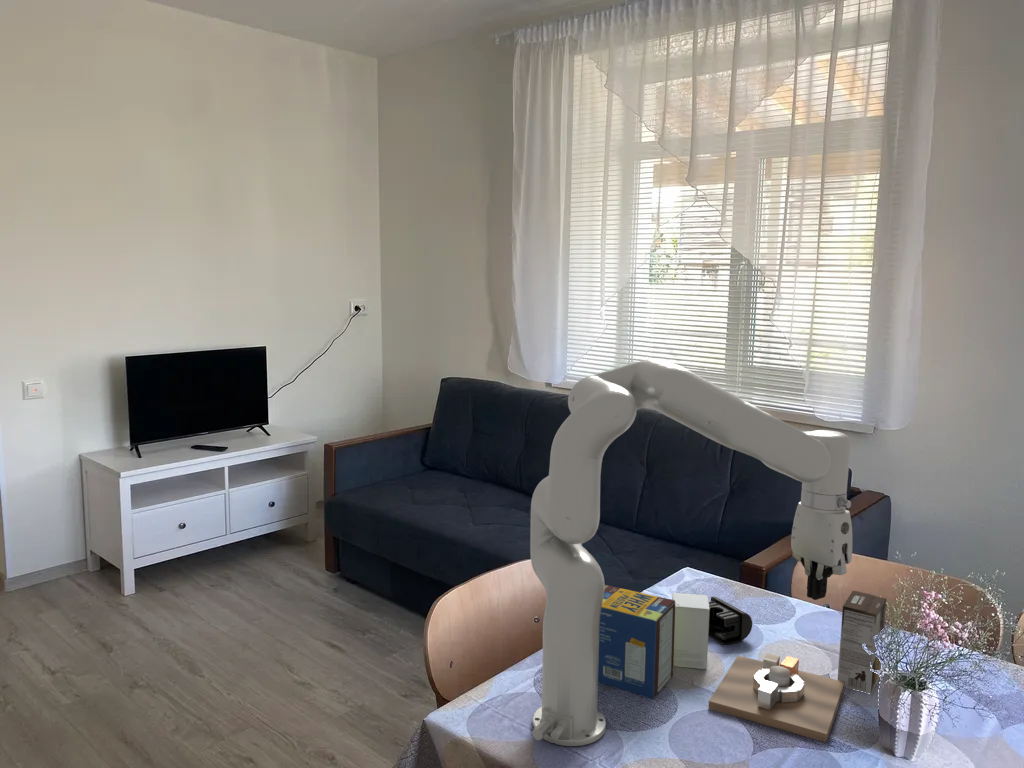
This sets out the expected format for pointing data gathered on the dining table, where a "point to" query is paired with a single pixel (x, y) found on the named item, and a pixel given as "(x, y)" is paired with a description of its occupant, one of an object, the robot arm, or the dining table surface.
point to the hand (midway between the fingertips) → (816, 596)
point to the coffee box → (860, 640)
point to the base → (797, 717)
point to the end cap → (727, 623)
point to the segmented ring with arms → (773, 693)
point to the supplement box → (691, 630)
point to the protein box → (636, 641)
